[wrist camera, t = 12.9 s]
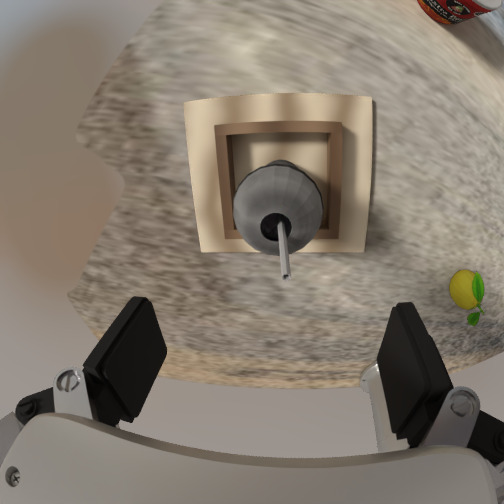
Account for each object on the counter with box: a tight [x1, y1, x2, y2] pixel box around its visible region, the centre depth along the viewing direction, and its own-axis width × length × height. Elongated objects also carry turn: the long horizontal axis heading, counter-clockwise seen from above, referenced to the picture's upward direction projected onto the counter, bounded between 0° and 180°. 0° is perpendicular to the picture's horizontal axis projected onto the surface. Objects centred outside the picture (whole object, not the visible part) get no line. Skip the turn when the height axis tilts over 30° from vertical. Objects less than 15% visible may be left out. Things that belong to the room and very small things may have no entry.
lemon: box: [449, 270, 484, 326], centre depth 32 cm, size 7×6×10 cm
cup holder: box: [183, 93, 372, 252], centre depth 31 cm, size 22×20×4 cm
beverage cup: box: [233, 159, 324, 281], centre depth 23 cm, size 7×7×20 cm
